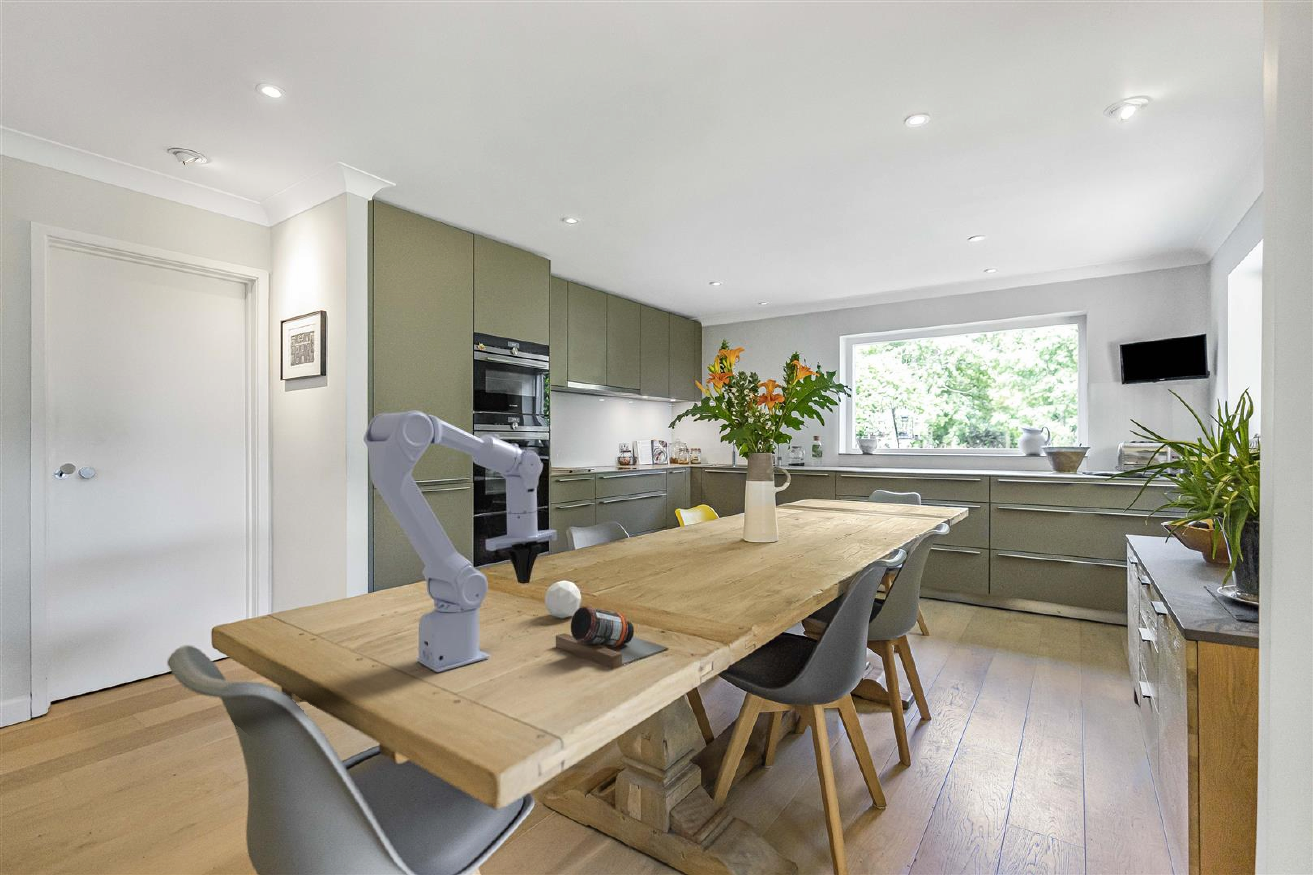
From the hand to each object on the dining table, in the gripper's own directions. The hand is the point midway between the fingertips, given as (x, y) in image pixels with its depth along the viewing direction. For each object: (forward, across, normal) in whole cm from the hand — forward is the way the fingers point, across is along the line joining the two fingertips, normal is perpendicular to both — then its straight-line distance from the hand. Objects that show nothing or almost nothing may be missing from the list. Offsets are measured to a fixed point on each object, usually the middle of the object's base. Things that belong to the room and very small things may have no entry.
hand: (523, 582), depth 114 cm
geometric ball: (+11, +13, +6) cm, 18 cm away
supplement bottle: (+4, 0, -18) cm, 18 cm away
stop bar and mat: (+11, +7, -17) cm, 21 cm away
